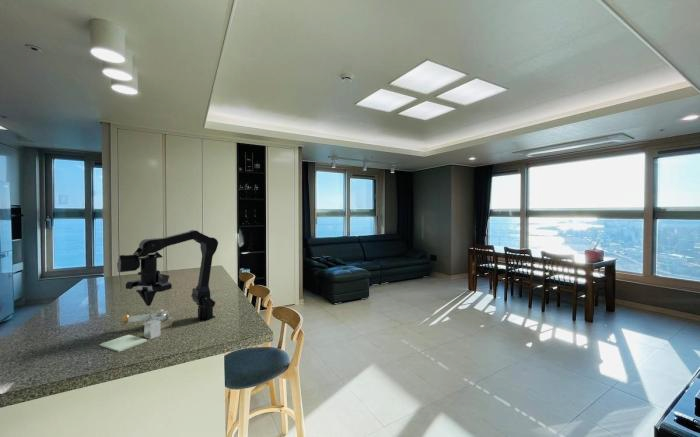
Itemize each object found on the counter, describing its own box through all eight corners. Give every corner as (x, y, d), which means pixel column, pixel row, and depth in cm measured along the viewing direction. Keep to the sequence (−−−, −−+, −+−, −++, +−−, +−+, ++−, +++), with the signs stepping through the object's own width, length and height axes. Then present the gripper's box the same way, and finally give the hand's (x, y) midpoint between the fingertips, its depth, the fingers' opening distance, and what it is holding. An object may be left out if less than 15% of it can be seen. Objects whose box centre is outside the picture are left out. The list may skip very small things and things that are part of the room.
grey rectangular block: (160, 335, 122) (160, 320, 122) (150, 338, 118) (150, 324, 118) (154, 333, 123) (154, 319, 123) (144, 337, 120) (144, 322, 119)
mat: (147, 341, 116) (147, 339, 116) (118, 351, 107) (118, 350, 107) (128, 335, 120) (128, 334, 120) (99, 345, 111) (99, 344, 111)
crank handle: (169, 316, 137) (169, 306, 137) (168, 321, 131) (168, 310, 131) (123, 322, 129) (123, 312, 129) (120, 327, 123) (120, 316, 123)
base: (177, 323, 135) (177, 318, 135) (156, 330, 126) (156, 326, 126) (163, 319, 139) (163, 315, 139) (141, 327, 130) (141, 322, 130)
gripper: (182, 267, 129) (182, 302, 129) (149, 264, 134) (149, 298, 134) (159, 271, 118) (159, 310, 118) (124, 269, 123) (124, 305, 123)
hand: (148, 305), depth 124 cm, fingers closed
